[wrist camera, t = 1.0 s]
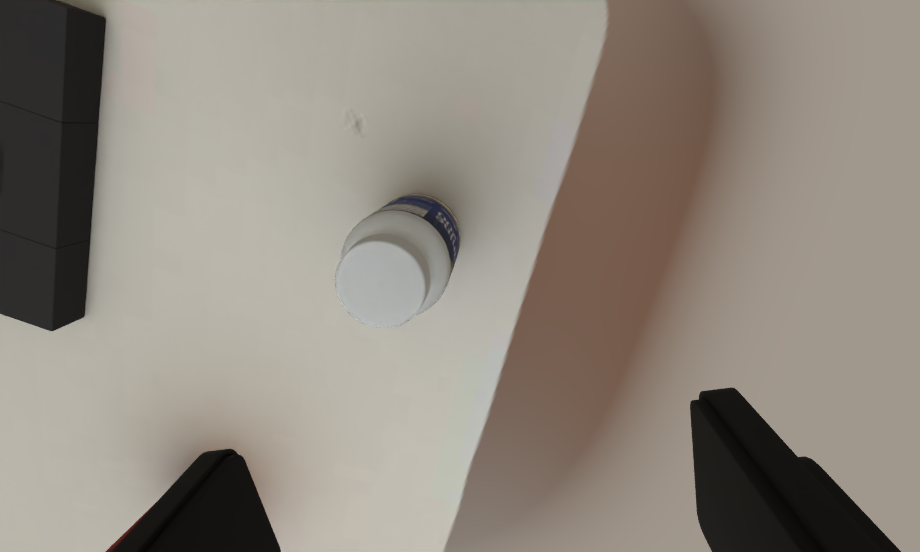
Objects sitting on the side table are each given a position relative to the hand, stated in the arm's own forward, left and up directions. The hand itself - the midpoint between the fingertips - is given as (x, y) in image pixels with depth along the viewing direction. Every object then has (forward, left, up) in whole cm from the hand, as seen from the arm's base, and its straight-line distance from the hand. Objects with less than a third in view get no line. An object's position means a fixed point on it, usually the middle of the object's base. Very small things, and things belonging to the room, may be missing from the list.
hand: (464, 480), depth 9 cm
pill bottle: (+1, -4, -20) cm, 21 cm away
